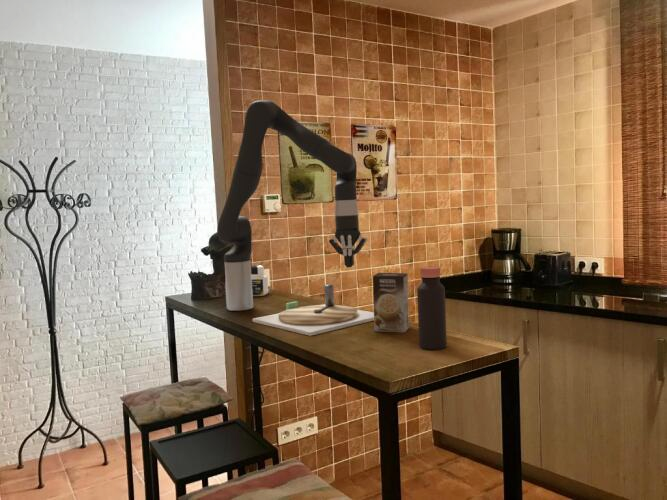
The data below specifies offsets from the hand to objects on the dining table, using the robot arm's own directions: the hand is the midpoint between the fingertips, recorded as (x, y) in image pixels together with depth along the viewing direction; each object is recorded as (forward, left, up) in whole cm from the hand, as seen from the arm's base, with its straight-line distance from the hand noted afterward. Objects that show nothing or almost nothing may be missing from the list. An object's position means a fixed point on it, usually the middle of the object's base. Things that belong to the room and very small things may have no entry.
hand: (349, 267), depth 192 cm
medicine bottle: (-60, +2, -16) cm, 62 cm away
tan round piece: (-1, -13, -14) cm, 19 cm away
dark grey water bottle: (+48, -16, -16) cm, 53 cm away
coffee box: (+27, -9, -16) cm, 32 cm away
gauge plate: (-1, -13, -15) cm, 20 cm away
